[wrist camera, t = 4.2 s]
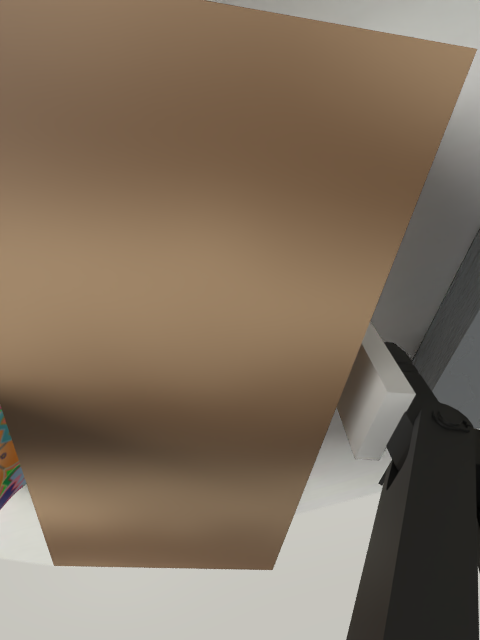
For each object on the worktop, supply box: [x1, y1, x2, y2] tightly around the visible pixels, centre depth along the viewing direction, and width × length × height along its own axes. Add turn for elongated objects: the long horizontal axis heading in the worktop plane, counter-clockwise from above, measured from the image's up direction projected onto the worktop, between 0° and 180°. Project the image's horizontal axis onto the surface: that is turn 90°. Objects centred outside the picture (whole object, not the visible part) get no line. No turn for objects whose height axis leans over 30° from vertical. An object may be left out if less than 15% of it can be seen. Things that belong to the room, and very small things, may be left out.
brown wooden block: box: [0, 0, 477, 570], centre depth 12 cm, size 16×8×7 cm, turn 173°
